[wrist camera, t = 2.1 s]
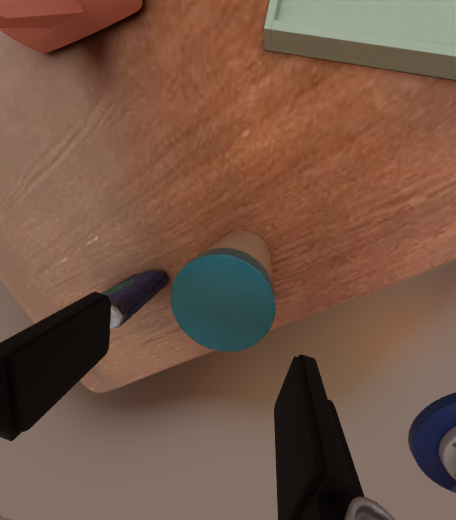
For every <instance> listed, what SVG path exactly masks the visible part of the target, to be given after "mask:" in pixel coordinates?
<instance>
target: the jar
mask: <svg viewBox="0 0 456 520" xmlns="http://www.w3.org/2000/svg"><path fill="white" fill-rule="evenodd" d="M216 248H232V249H237V250H240V251H243V252H245V253H247V254H249V255H251V256H252V257H254V258H255V259H257V260H258V261H259V262H260V263H261V264H262V265H263V266H264V267H265V269H266V270H267V272H268V273H269V275H270V277H271V280H272V263H271V253H270V250H269V247H268V245H267V244H266V242H265V241H264V240H263V239H262V238H261V237H260V236H258V235H256V234H254V233H252V232H249V231H242V230H240V231H233V232H230V233H228V234H226V235H225V236H223V237H222V238H221V239H220V240H218V241H217V242H216V243H215V244H214V245H212V246H211V247H210V248H209V249H207V250H206V251H208V250H211V249H216ZM206 251H205V252H206ZM272 283H273V282H272Z"/></svg>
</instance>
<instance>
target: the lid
mask: <svg viewBox="0 0 456 520" xmlns="http://www.w3.org/2000/svg"><path fill="white" fill-rule="evenodd" d="M171 306H172V311H173V314H174V316H175V318H176V321H177V322H178V324H179V326H180V327H181V328H182V330H183V331H184V332H185V333H186V334H187V335H188V336H189V337H190V338H192V339H193V340H194V341H196V342H197V343H199V344H201V345H203V346H205V347H207V348H210V349H214V350H218V351H238V350H243V349H246V348H248V347H250V346H252V345H254V344H256V343H257V342H259V341H260V340H261V339H262V338H263V337H264V336H265V335H266V334H267V332H268V331H269V329H270V328H271V325H272V323H273V320H274V316H275V294H274V286H273V283H272V280H271V277H270V275H269V273H268V272H267V270H266V269H265V267H264V266H263V265H262V264H261V263H260V262H259V261H258V260H257V259H255V258H254V257H252V256H251V255H249V254H247V253H245V252H243V251H240V250H237V249H232V248H216V249H211V250H208V251H206V252H204V253H202V254H200V255H198V256H197V257H196V258H194V259H193V260H192V261H191V262H189V263H188V264H187V265H186V266H185V267H184V268H182V269H181V271H180V272H179V273H178V275H177V277H176V278H175V280H174V283H173V286H172V290H171Z"/></svg>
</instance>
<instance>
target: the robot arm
mask: <svg viewBox="0 0 456 520" xmlns="http://www.w3.org/2000/svg"><path fill="white" fill-rule="evenodd" d="M110 319H111V300H109V297H108V296H107V295H104V294H101V293H97V292H93V293H91V294H89V295H87V296H85V297H84V298H82V299H80V300H78V301H76V302H74V303H73V304H71V305H69V306H67V307H65V308H63V309H62V310H60V311H58V312H56V313H54V314H52V315H51V316H49V317H47V318H45V319H43V320H41V321H39V322H38V323H36V324H34V325H32V326H30V327H28V328H27V329H25V330H23V331H21V332H19V333H17V334H16V335H14V336H12V337H10V338H9V339H6V340H5V341H3V342H1V343H0V437H2V438H4V439H7V440H9V441H13V440H14V439H15V438H16V437H17V436H18V435H19V434H20V433H21V432H24V431H27V430H28V429H30V428H31V427H32V426H33V425H34V424H35V423H36V422H37V421H38V420H39V419H40V418H41V417H42V416H43V415H44V414H45V413H46V412H47V411H48V410H50V409H51V408H52V406H54V405H55V404H56V403H57V401H59V400H60V399H61V398H62V397H63V396H64V395H65V394H66V393H67V392H68V391H69V390H70V389H71V388H72V387H73V386H74V385H75V384H76V383H77V382H78V381H79V380H80V379H81V378H82V377H83V376H84V375H85V374H86V373H87V372H88V371H90V370H91V369H92V368H93V367H94V366H95V365H96V364H97V363H98V362H99V361H100V360H101V359H102V358H103V357H104V356H105V355H106V353H107V351H108V349H109V337H110ZM274 421H275V448H276V475H277V503H278V520H395V519H394V518H393V517H392V516H391V515H390V514H389V513H388V512H387V510H385V509H384V508H383V507H382V506H380V505H379V504H378V503H377V502H375V501H373V500H371V499H369V498H366V497H364V494H363V491H362V488H361V485H360V482H359V479H358V476H357V473H356V470H355V467H354V463H353V460H352V457H351V454H350V451H349V448H348V445H347V442H346V439H345V436H344V433H343V430H342V427H341V424H340V421H339V418H338V415H337V412H336V409H335V406H334V404H333V402H332V401H330V400H328V399H327V396H326V392H325V389H324V386H323V383H322V379H321V376H320V373H319V369H318V366H317V363H316V360H315V359H314V358H311V357H308V356H305V355H299V357H294V358H293V360H292V363H291V365H290V368H289V370H288V373H287V375H286V378H285V380H284V383H283V385H282V388H281V390H280V393H279V396H278V398H277V401H276V403H275V408H274ZM438 451H439V457H440V460H441V462H442V464H443V465H444V467H445V468H446V470H447V471H448V473H449V474H450V475H451V476H452V477H453V478H454V479H455V480H456V425H455V426H454V427H453V428H451V429H450V430H449V431H448V432H447V433H446V434H445V435H444V436H443V438H442V440H441V442H440V445H439V450H438ZM0 520H9V519H7V518H5V517H3V516H1V515H0Z"/></svg>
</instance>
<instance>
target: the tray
mask: <svg viewBox="0 0 456 520" xmlns="http://www.w3.org/2000/svg"><path fill="white" fill-rule="evenodd" d="M264 45H265V46H264V49H265V50H268V51H275V52H281V53H287V54H294V55H300V56H306V57H313V58H319V59H325V60H332V61H338V62H344V63H351V64H357V65H363V66H370V67H376V68H382V69H389V70H395V71H401V72H408V73H414V74H420V75H427V76H433V77H439V78H446V79H452V80H456V0H270V2H269V7H268V12H267V16H266V21H265V26H264Z"/></svg>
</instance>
